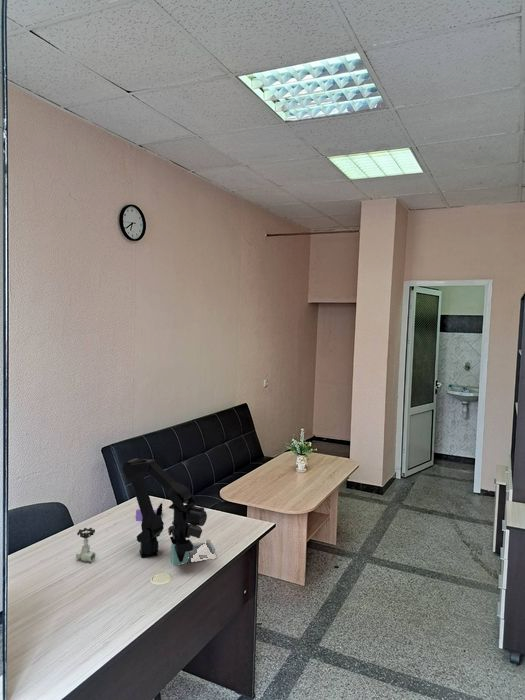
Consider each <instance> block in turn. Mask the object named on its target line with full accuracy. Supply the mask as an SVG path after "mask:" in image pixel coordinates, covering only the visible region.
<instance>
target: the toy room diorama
mask: <svg viewBox="0 0 525 700" xmlns="http://www.w3.org/2000/svg"><path fill="white" fill-rule="evenodd" d="M153 510H154V512H155V514H157V515H158V516H159V515H161V516H162V515H163V502H161V503H160V504H159V506H157V509H153ZM135 521H136V522H142V514H141V511H140V508H137V509H135Z"/></svg>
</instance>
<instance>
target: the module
mask: <svg viewBox="0 0 525 700" xmlns="http://www.w3.org/2000/svg"><path fill="white" fill-rule="evenodd" d="M174 546H175V544H172V543H171V546H170V547H171V550H170V552H171V553H170V561H171V565H172V564H173V565H176V566H179V565H178V564H182V563H187V562H188V563H189V559H188V555H189V551H187V552H185V555H184V558H183V561H182V562H179V559H178V556H177V553H176V551H175V548H174ZM173 565H172V566H173Z"/></svg>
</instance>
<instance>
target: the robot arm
mask: <svg viewBox="0 0 525 700" xmlns="http://www.w3.org/2000/svg"><path fill="white" fill-rule="evenodd" d="M122 472H123V474H124V475H125V476H124V477H125V478H126V480H128V481H129V482H130V484H132V488H133V492H134V495H135V498H136V501H137V504H138V507H139V508H138V509H140V511H141V514H142V521H141V525H140V526H141V532H140V533H139V534H137V536H136V540H137V542H138V543H139V544H140V545H139V546H140V547H139V550H138V552H139V555H140V558H141V559H143V558H144V559H145V558H151V557H157V556H158V553H159V540H158V537H160V536H161V534H162V533H163V532H164V531H163V530H164V524H165V523H164V521H163V519H162V515H159V516H158V515H157V514H155V512H154V510H155V509H154V507H153V504H152V501H151V498H150V495H149V491H148V488H147V485H146V482H145V472H146V473H148V475H149V476H151V477H152V478H153V479H154V481H156V483H157V484H159V485H160V486H161V487H162V488H163V489H164V490H165V492H167V496H168V499H169V500H170V502H171V504H170V505H169V506H168V509H171V510H173V521H172V525H170V526H169V527H168V529H167V530H168V531H167V533H168V536H170V537H169V539H170V541H171V545H172V544H175V546H174V548H175V551H176V553H177V556H178V559H179V562H182V561H183V558H184V555H185V552H187V551H192V550H193V542H192V541H191V540H190V538H191V537H192V538H193V537H194V538H196V539H200V538H201V536H202V534H203V529H202V527H204V525H205V524H206V521H207V520H208V519H207V518H208V514H207V512H206V511H205V507H202V506H196V505H197V502H196V500H195V498H194V496H193V495H192V491H191V489H190V488H189V487H187V486H186V485H184V484H182V483H180V482H177V481H175V480H174V479H173V478H172V477H171V475H169V474H168V473H167V472H166V471H165V470H164V469H163V468H162V467H161V466H160V465H159V464H158V463H157V460H155V459H141V458H133V459H131V460H128V461H125V462H124V463H123V465H122ZM185 503H186V504H185Z"/></svg>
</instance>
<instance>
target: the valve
mask: <svg viewBox="0 0 525 700" xmlns="http://www.w3.org/2000/svg"><path fill="white" fill-rule="evenodd" d="M76 533H77V534H76V535H77V536H79V537H80V538H83V539H84V540H83V545H82V547H81V549H78V550H77V551H76V554H75V559H77V560H81V562H92V563H93V562H94V561H95V559H96V556H97V555H96V552H93V551H90V549H91V546H90V545H89V538H91V537H92V536H94V534H95V533H96V529H94V528H92V527H89V528H87V527H84V528H83V529H79V530H78V531H77V532H76Z"/></svg>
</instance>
